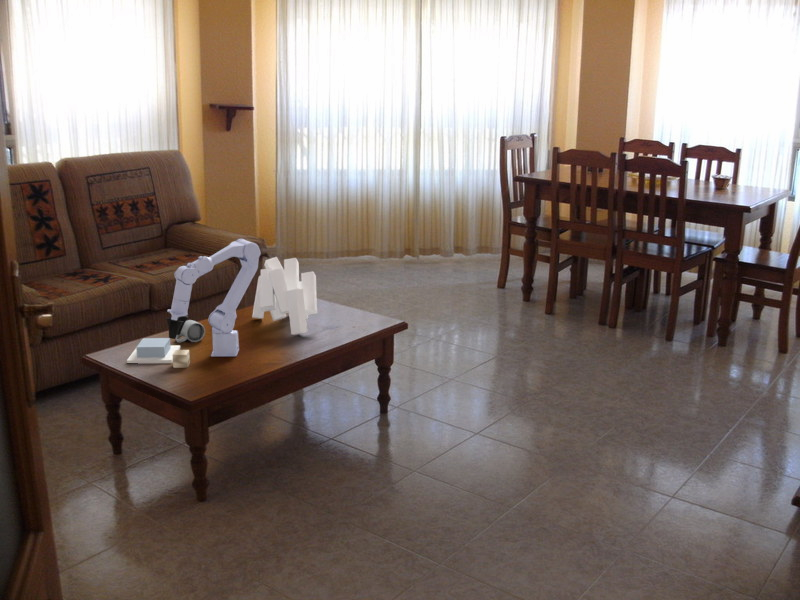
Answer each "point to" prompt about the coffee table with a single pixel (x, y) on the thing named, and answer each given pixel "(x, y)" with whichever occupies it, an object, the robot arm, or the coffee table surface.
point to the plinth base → (156, 360)
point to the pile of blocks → (286, 293)
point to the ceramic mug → (191, 332)
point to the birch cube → (181, 359)
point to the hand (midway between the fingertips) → (174, 336)
